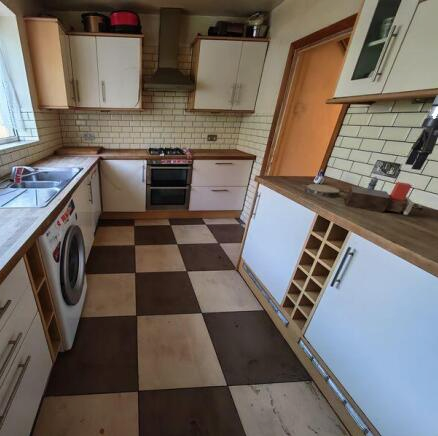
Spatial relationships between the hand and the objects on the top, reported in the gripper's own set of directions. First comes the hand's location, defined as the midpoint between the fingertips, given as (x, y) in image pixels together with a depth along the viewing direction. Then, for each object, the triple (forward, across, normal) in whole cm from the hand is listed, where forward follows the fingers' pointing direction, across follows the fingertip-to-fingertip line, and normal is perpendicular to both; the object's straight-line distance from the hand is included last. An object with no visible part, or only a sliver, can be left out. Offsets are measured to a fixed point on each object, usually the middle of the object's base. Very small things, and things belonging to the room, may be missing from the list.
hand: (411, 167), depth 107 cm
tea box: (+20, 0, 0) cm, 20 cm away
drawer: (+21, 0, +1) cm, 21 cm away
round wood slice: (+22, -10, -29) cm, 38 cm away
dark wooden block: (+22, 0, -10) cm, 24 cm away
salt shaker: (+22, -21, -7) cm, 31 cm away
